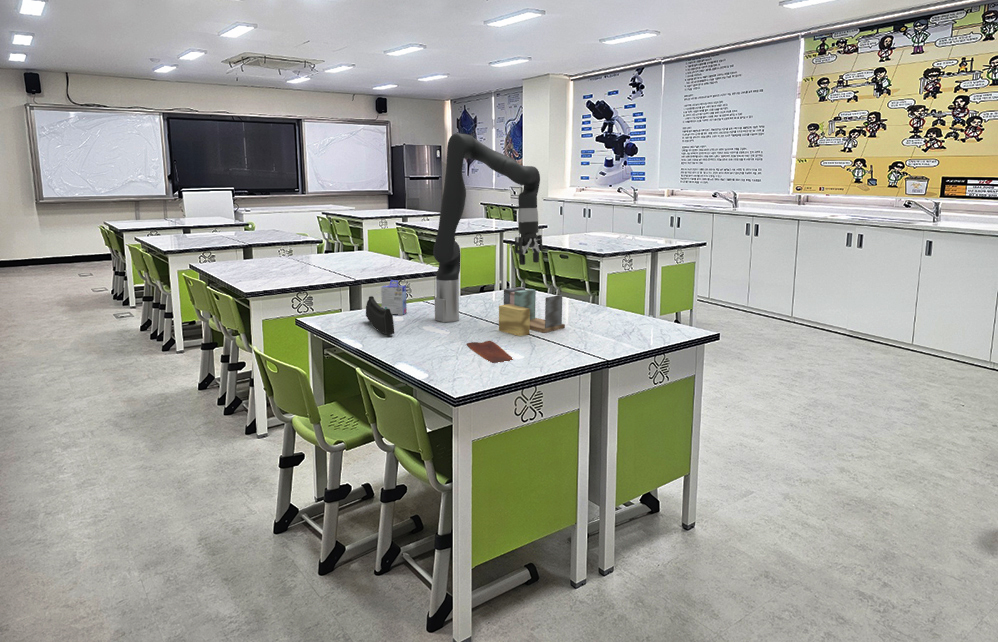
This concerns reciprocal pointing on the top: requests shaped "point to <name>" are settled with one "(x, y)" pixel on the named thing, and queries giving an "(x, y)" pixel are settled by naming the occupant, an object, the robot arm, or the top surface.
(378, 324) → the magazine
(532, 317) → the book shelf
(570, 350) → the top surface
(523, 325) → the yellow block
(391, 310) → the ink cartridge box
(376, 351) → the top surface
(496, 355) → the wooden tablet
